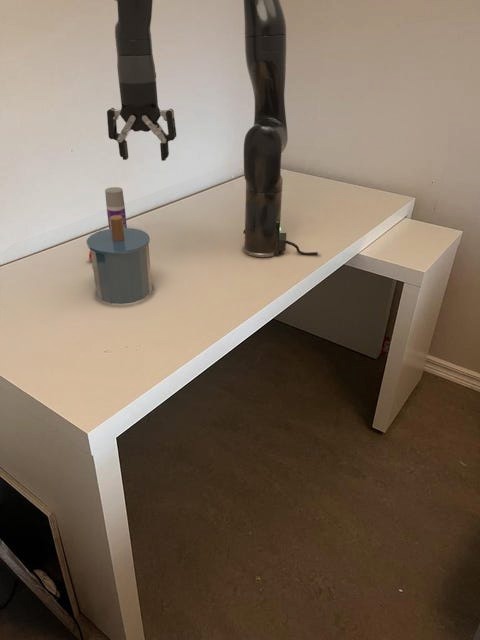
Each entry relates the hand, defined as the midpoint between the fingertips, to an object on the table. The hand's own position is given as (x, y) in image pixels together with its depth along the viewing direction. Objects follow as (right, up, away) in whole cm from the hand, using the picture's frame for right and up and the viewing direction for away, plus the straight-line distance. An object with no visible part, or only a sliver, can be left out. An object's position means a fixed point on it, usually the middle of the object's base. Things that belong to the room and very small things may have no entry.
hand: (144, 159), depth 115 cm
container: (-12, -14, +29) cm, 34 cm away
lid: (-6, -18, -1) cm, 19 cm away
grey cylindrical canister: (-6, -29, +5) cm, 30 cm away
